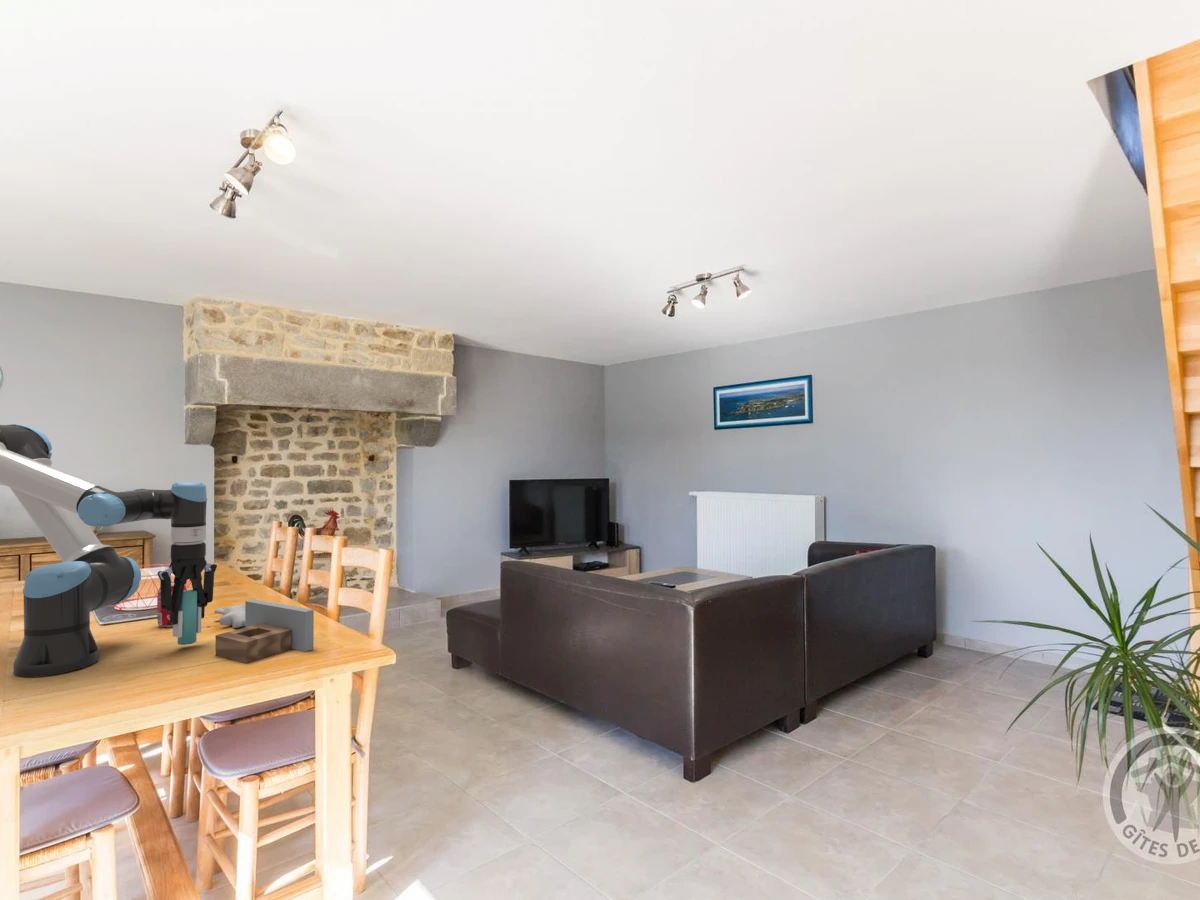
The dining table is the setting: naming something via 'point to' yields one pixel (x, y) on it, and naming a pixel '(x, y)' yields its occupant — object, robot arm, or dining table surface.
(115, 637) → the dining table surface
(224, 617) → the white bear-shaped figure
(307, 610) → the board
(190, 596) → the dowel
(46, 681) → the dining table surface
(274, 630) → the socket block
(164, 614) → the soda can
